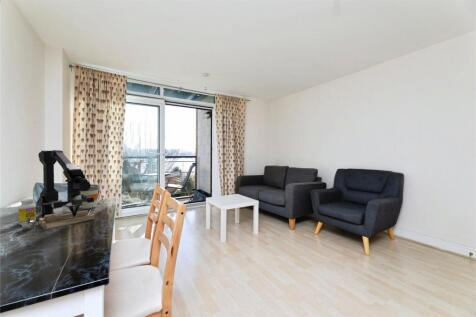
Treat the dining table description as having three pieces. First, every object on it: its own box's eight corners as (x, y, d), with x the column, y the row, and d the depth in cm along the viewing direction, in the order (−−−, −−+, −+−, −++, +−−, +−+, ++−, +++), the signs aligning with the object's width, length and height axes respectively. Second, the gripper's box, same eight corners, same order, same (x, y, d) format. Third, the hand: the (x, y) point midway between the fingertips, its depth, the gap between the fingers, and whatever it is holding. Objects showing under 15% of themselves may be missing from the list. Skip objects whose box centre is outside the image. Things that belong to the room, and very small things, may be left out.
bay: (39, 223, 114) (39, 218, 114) (87, 214, 131) (87, 209, 131) (44, 229, 105) (44, 223, 105) (94, 218, 123) (94, 213, 122)
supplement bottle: (24, 225, 110) (24, 201, 110) (15, 224, 111) (14, 201, 111) (39, 221, 117) (38, 198, 116) (30, 220, 118) (29, 198, 117)
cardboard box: (44, 224, 113) (44, 215, 112) (58, 221, 117) (58, 212, 117) (47, 227, 109) (46, 217, 109) (61, 224, 113) (61, 215, 113)
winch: (21, 229, 105) (21, 216, 105) (33, 226, 109) (33, 214, 109) (23, 232, 102) (22, 218, 101) (35, 229, 105) (35, 216, 105)
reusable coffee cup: (102, 206, 150) (102, 185, 149) (82, 210, 139) (81, 188, 139) (94, 203, 156) (93, 183, 156) (74, 207, 146) (73, 186, 145)
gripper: (55, 194, 107) (56, 224, 108) (97, 189, 122) (97, 215, 122) (51, 191, 114) (51, 219, 115) (91, 187, 129) (91, 212, 129)
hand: (74, 216), depth 120 cm, fingers closed
